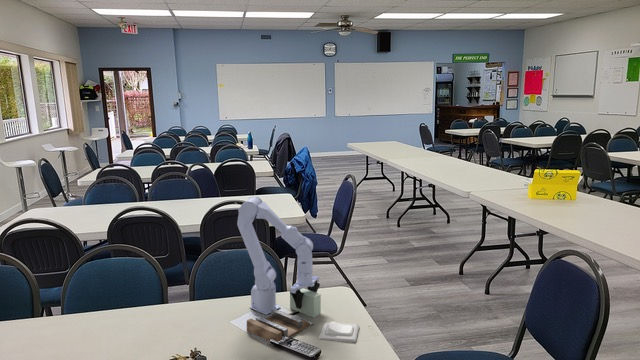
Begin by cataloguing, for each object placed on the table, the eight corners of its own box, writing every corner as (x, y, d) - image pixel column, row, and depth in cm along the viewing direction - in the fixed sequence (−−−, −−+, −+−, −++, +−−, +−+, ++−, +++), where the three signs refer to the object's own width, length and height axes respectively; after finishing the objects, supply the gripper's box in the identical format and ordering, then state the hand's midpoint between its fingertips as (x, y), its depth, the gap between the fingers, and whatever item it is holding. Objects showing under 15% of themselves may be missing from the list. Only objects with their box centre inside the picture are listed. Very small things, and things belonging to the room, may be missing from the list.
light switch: (323, 316, 163) (358, 317, 161) (324, 327, 164) (359, 328, 161) (317, 331, 153) (355, 333, 150) (318, 342, 153) (355, 344, 151)
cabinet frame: (246, 331, 158) (246, 320, 158) (280, 313, 171) (280, 303, 171) (277, 345, 149) (277, 334, 148) (310, 325, 162) (310, 315, 161)
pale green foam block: (313, 317, 168) (313, 297, 167) (290, 308, 176) (289, 289, 174) (321, 313, 172) (321, 293, 170) (298, 304, 179) (298, 285, 178)
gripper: (300, 279, 162) (300, 314, 165) (325, 267, 174) (325, 300, 176) (286, 274, 167) (286, 308, 169) (311, 263, 178) (311, 295, 180)
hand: (305, 304), depth 173 cm, fingers open, 7 cm apart
